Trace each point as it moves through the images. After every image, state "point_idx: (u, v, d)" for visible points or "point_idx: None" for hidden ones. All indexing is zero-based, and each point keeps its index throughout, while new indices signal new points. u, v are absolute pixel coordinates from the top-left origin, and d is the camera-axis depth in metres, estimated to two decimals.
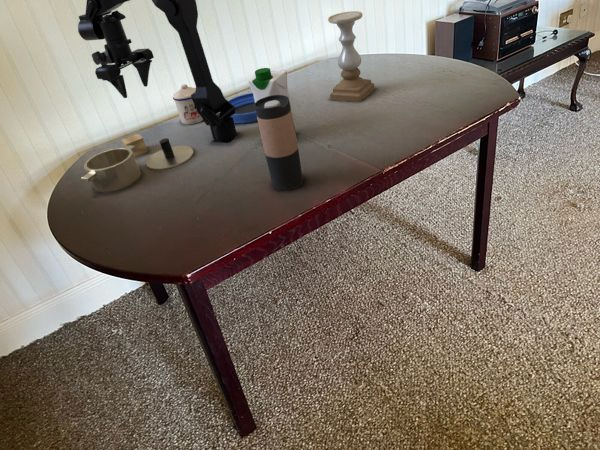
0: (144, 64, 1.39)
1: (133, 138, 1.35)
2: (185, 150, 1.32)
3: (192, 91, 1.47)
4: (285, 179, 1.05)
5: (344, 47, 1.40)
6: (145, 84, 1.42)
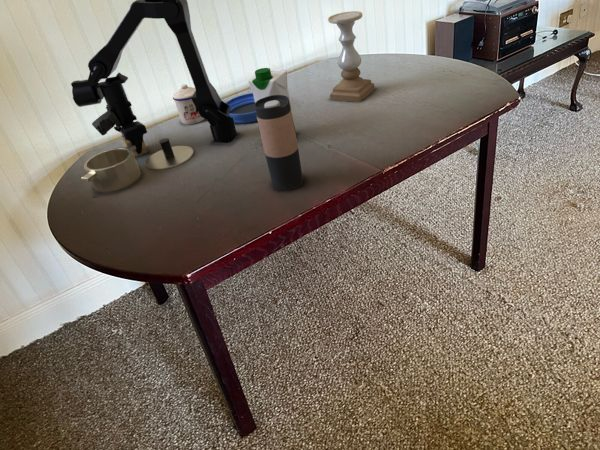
0: None
1: None
2: (185, 150, 1.32)
3: (192, 91, 1.47)
4: (285, 179, 1.05)
5: (344, 47, 1.40)
6: None
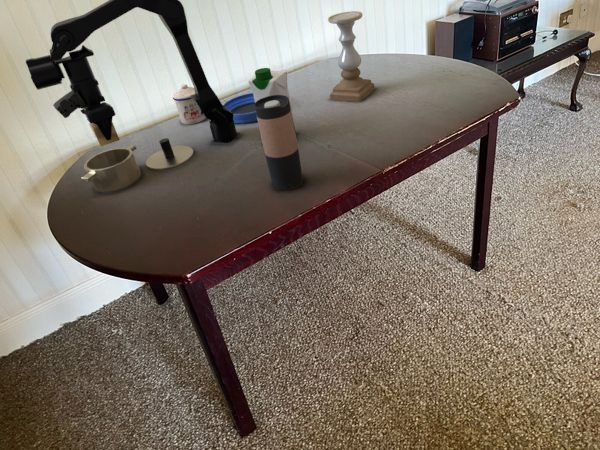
0: None
1: None
2: (185, 150, 1.32)
3: (192, 91, 1.47)
4: (285, 179, 1.05)
5: (344, 47, 1.40)
6: None
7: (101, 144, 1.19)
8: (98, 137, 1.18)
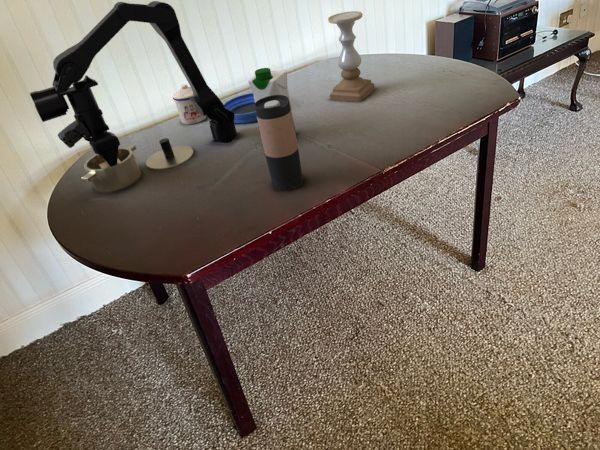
0: None
1: None
2: (185, 150, 1.32)
3: (192, 91, 1.47)
4: (285, 179, 1.05)
5: (344, 47, 1.40)
6: None
7: None
8: None
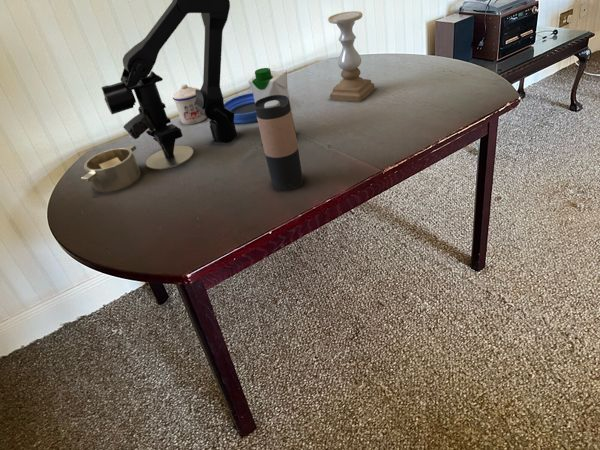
0: None
1: (111, 163, 1.22)
2: (185, 150, 1.32)
3: (192, 91, 1.47)
4: (285, 179, 1.05)
5: (344, 47, 1.40)
6: None
7: None
8: None
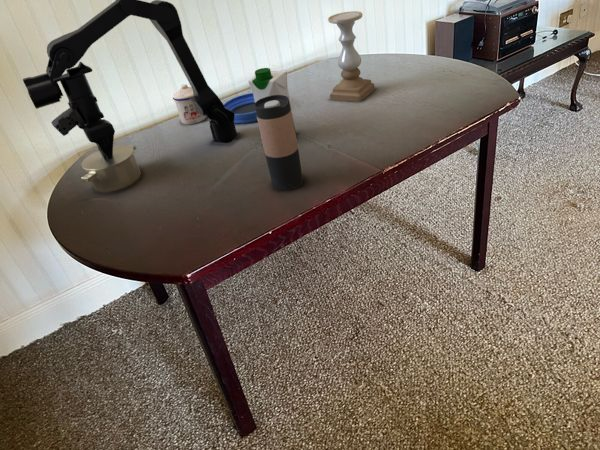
0: None
1: None
2: (125, 150, 1.22)
3: (192, 91, 1.47)
4: (285, 179, 1.05)
5: (344, 47, 1.40)
6: None
7: None
8: None
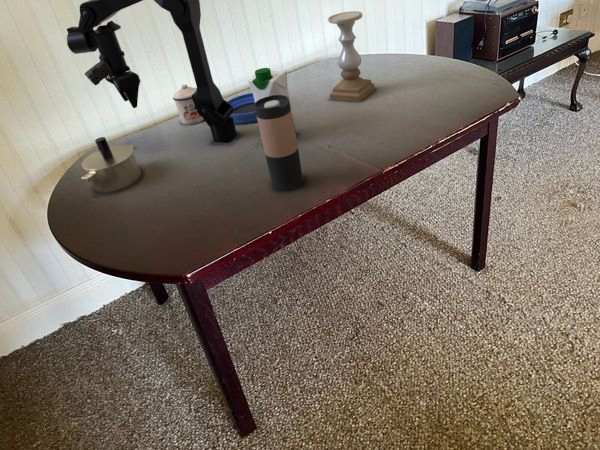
0: None
1: None
2: (125, 150, 1.22)
3: (192, 91, 1.47)
4: (285, 179, 1.05)
5: (344, 47, 1.40)
6: (126, 98, 1.39)
7: None
8: None
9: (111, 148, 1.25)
